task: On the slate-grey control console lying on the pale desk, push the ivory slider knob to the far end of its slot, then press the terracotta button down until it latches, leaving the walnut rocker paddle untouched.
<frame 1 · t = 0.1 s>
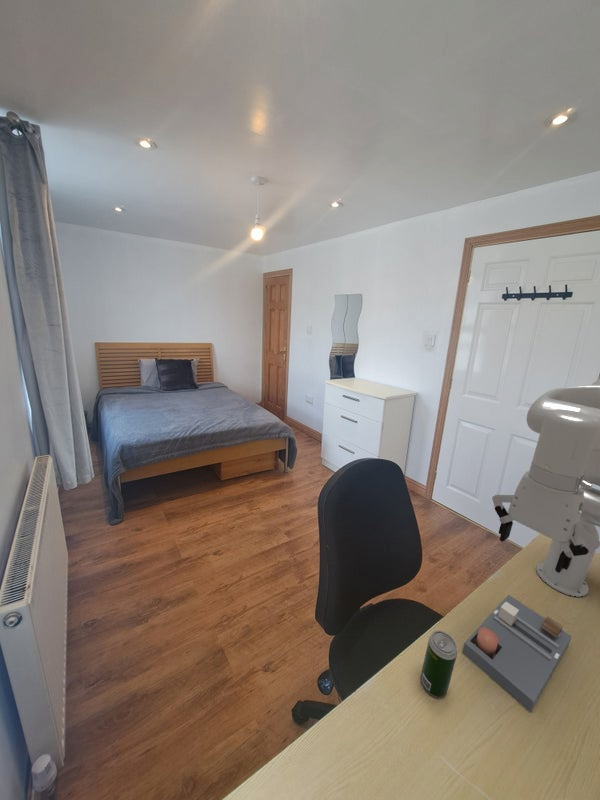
hand: (530, 553, 63), 31 cm above the table, fingers open, 9 cm apart
console: (516, 648, 76), on the table
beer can: (433, 685, 68), on the table
push button: (486, 641, 74), point 4 cm above the table, slide at 0.0 cm
rocker: (551, 626, 78), point 4 cm above the table, hinge at -12.0°
slider knob: (508, 613, 80), point 5 cm above the table, slide at 0.0 cm
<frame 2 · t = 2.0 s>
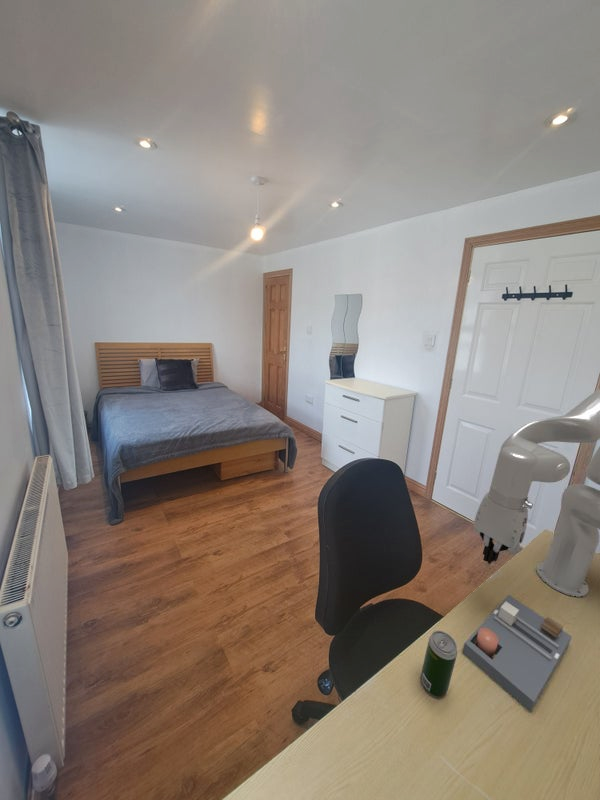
hand: (489, 559, 82), 16 cm above the table, fingers closed
nothing on the table moved.
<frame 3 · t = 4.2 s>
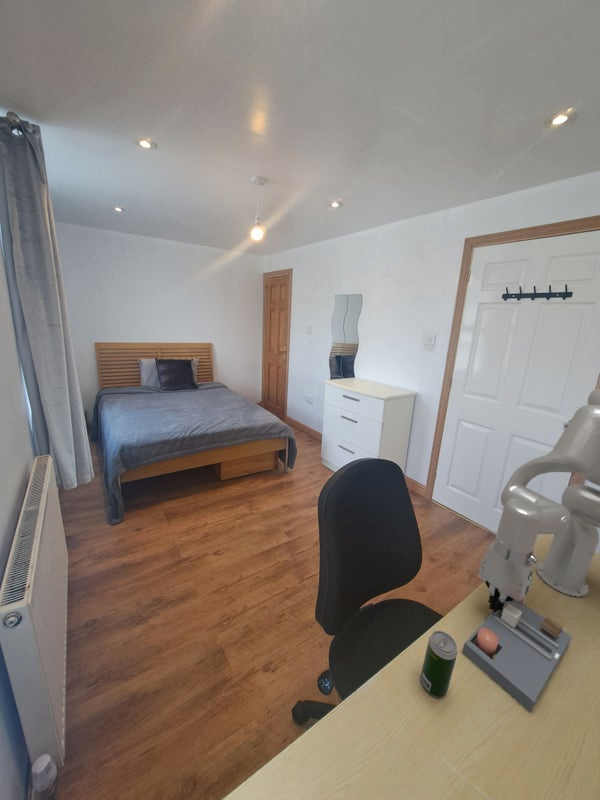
hand: (494, 608, 82), 4 cm above the table, fingers closed
slider knob: (511, 615, 79), point 5 cm above the table, slide at 0.7 cm, touching gripper
everything else where it was.
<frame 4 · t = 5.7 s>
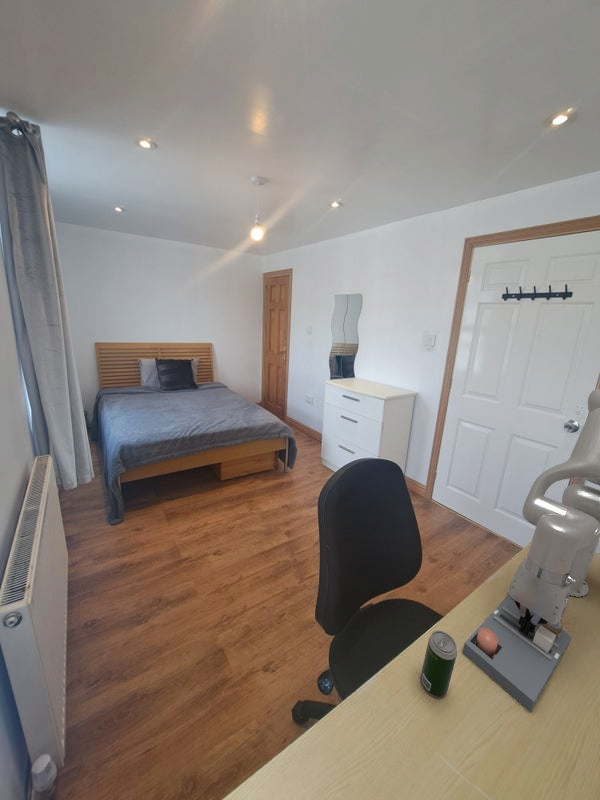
hand: (525, 629, 77), 4 cm above the table, fingers closed
slider knob: (544, 638, 74), point 5 cm above the table, slide at 7.6 cm, touching gripper
everything else where it was.
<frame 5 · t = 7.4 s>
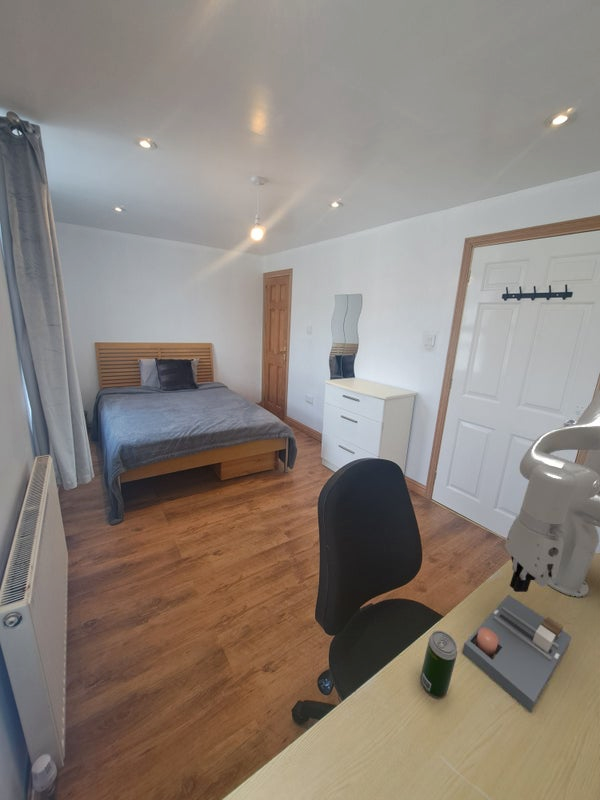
hand: (518, 588, 74), 16 cm above the table, fingers closed
slider knob: (543, 638, 74), point 5 cm above the table, slide at 7.6 cm
everything else where it was.
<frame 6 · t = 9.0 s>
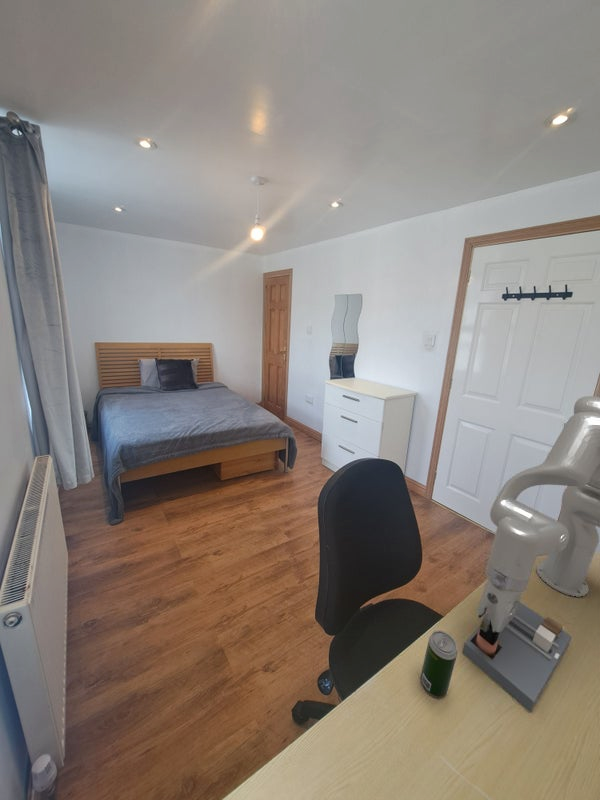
hand: (487, 638, 73), 5 cm above the table, fingers closed
push button: (486, 643, 74), point 3 cm above the table, slide at -0.7 cm, touching gripper
everything else where it was.
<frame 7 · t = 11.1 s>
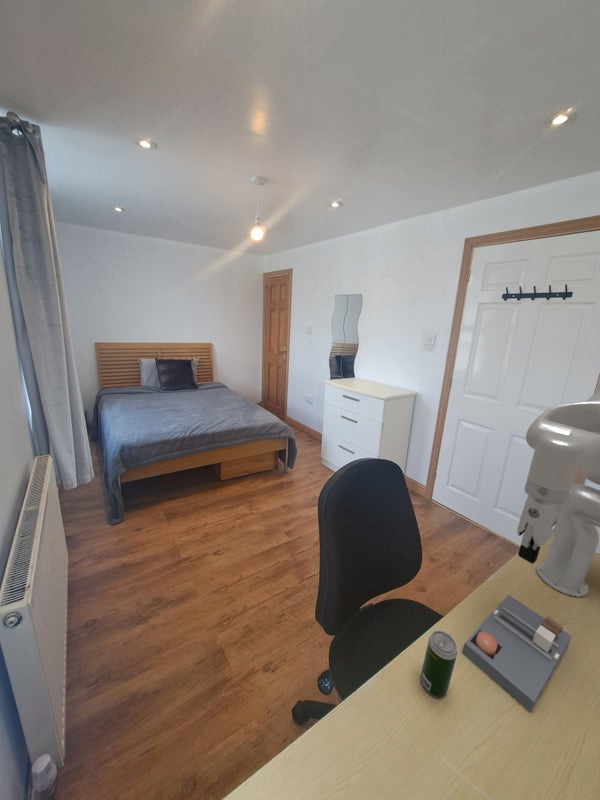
hand: (526, 558, 74), 23 cm above the table, fingers closed
push button: (485, 645, 74), point 3 cm above the table, slide at -1.2 cm
everything else where it was.
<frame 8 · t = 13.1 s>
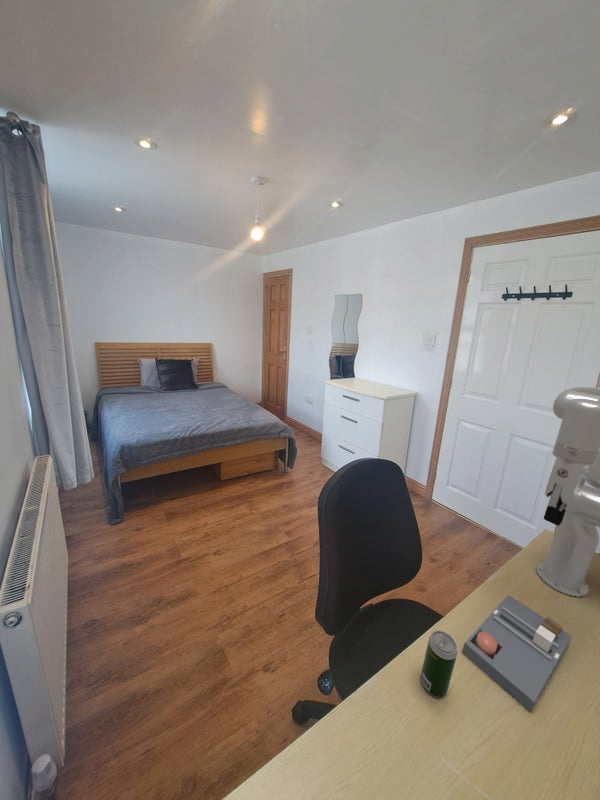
hand: (552, 521, 78), 29 cm above the table, fingers closed
nothing on the table moved.
at the end: slider knob slide at 7.6 cm; push button slide at -1.2 cm; rocker at -12° (first picture: -12°) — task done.
